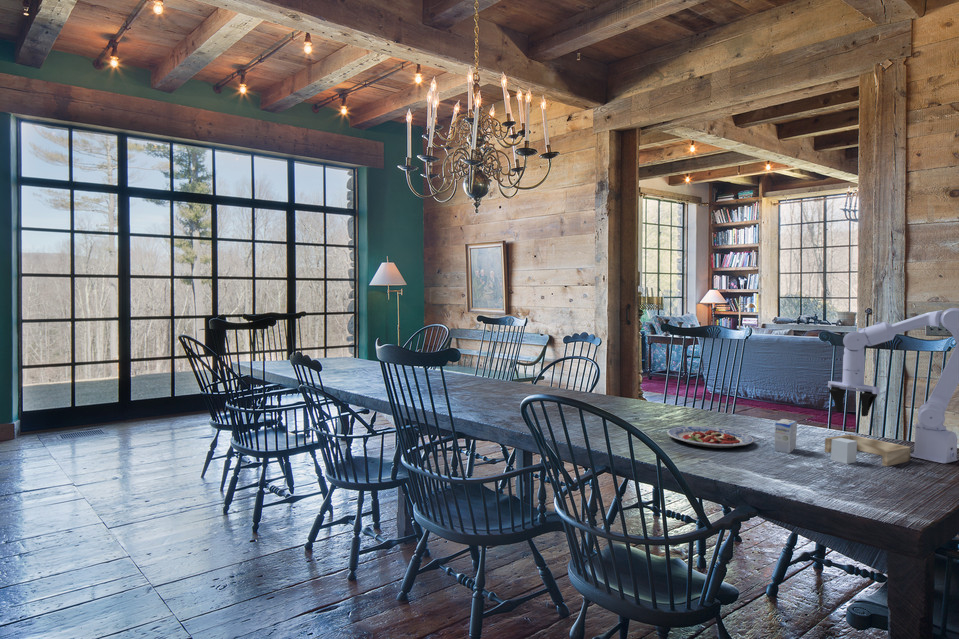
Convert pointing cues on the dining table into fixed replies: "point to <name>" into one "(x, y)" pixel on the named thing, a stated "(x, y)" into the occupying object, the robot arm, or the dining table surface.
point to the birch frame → (877, 449)
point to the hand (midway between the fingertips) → (851, 413)
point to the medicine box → (785, 435)
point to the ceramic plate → (710, 436)
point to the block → (843, 450)
